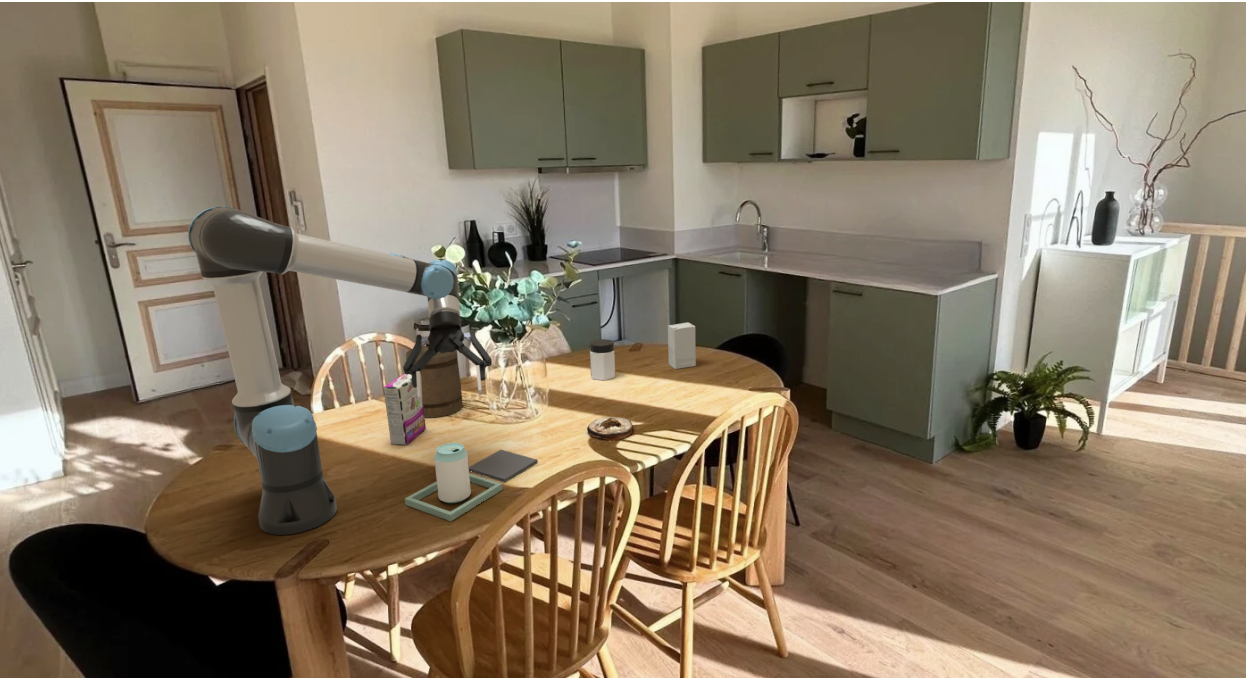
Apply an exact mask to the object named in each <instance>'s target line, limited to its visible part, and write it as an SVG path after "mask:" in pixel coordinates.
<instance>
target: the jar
mask: <svg viewBox="0 0 1246 678" xmlns="http://www.w3.org/2000/svg"><path fill="white" fill-rule="evenodd" d="M615 357H616V356H615V342H614V341H613V340H611V339H608V338H607V339H605V338H604V339H601V338H600V339H595V340H591V341H590V342H589V360H590V361H589V363H590V366H589V367H590V376H591V379H592V380H597V381H607V380H611V379H615V378H616V363H615V359H616V358H615Z"/></svg>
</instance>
